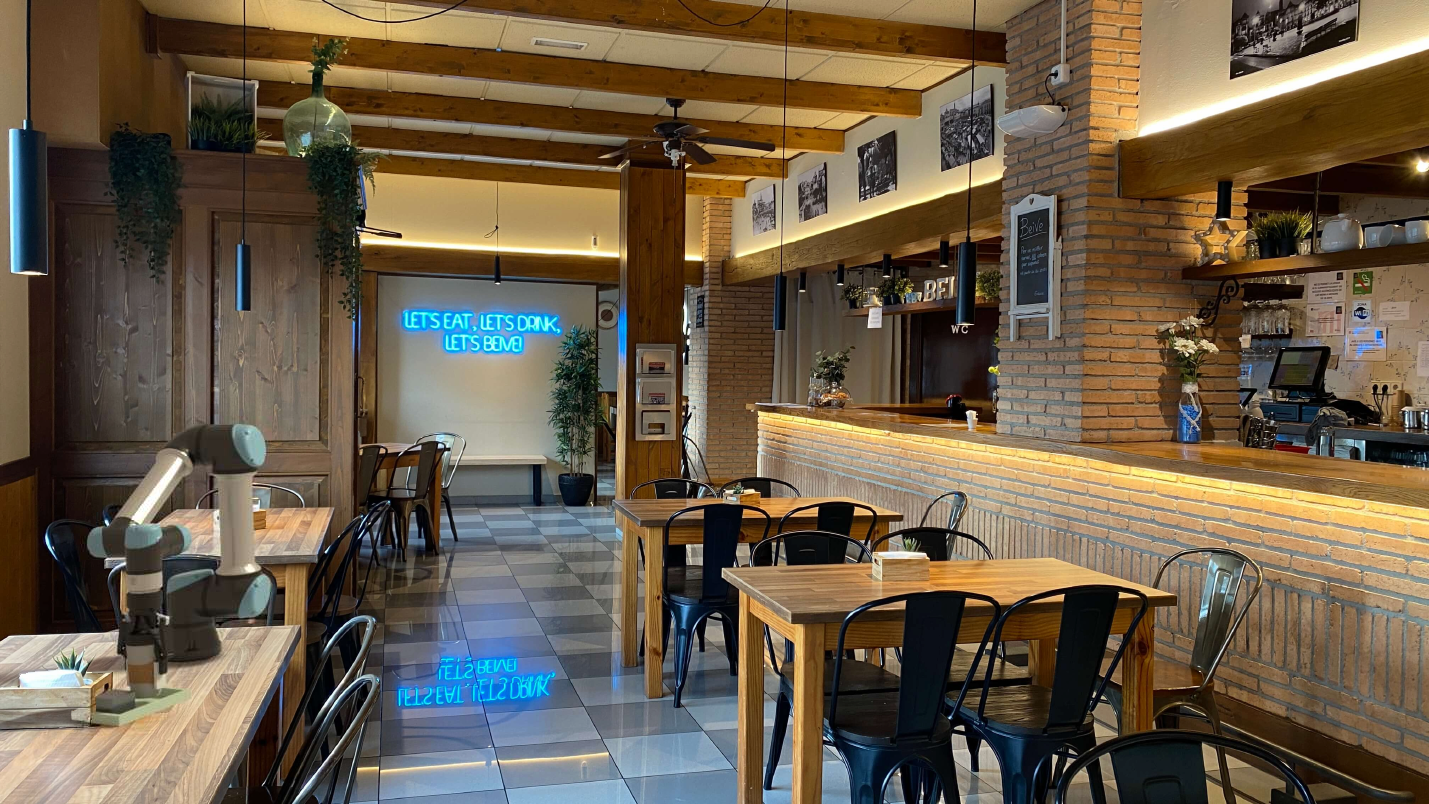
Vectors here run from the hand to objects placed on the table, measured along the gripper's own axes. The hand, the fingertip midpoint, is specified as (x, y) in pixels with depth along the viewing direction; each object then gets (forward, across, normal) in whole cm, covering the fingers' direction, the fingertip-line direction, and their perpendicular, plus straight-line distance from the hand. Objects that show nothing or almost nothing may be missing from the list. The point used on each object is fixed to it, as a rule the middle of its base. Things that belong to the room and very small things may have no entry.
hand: (146, 685), depth 240 cm
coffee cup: (+2, 0, 0) cm, 2 cm away
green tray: (+5, 0, -4) cm, 6 cm away
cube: (+4, 0, -9) cm, 10 cm away
